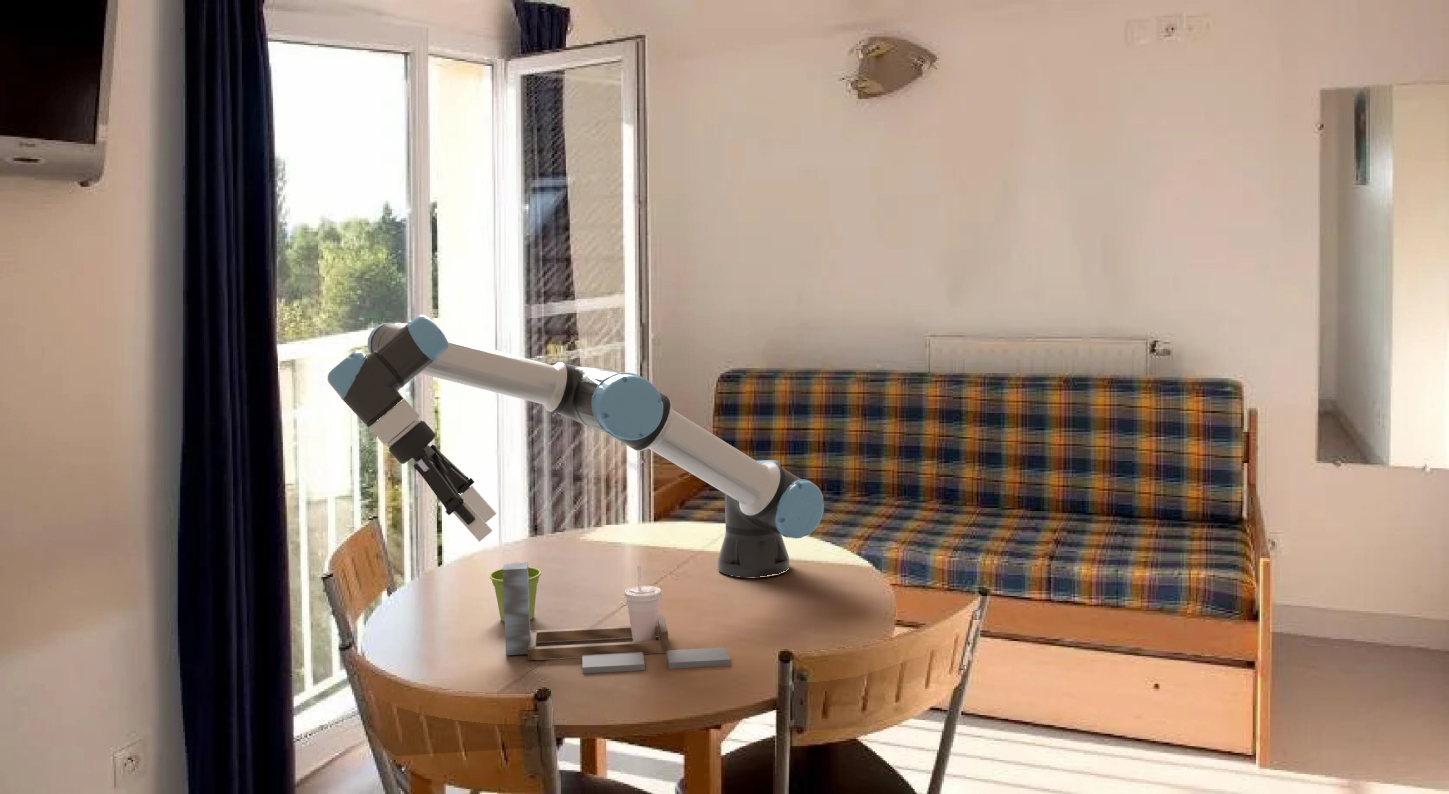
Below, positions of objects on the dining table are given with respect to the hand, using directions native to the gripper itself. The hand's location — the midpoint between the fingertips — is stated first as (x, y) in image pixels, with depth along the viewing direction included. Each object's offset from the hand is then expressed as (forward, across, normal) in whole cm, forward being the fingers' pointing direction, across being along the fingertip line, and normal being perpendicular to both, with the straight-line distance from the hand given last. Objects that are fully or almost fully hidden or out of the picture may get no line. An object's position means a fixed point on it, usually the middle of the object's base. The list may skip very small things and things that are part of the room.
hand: (488, 527), depth 208 cm
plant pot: (+19, -16, -10) cm, 27 cm away
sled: (+27, +3, 0) cm, 27 cm away
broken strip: (+34, +12, +8) cm, 37 cm away
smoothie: (+33, +3, +7) cm, 34 cm away
